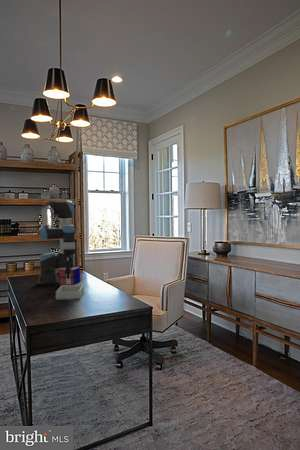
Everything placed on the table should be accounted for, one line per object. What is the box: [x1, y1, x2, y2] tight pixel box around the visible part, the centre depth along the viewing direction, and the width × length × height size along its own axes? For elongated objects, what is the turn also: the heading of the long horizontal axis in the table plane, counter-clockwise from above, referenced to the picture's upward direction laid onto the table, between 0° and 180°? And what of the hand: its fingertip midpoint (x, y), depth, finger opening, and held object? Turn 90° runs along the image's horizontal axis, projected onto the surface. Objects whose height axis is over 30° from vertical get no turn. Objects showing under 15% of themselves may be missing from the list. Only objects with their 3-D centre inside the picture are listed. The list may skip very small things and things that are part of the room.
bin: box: [55, 284, 85, 301], centre depth 218 cm, size 19×15×5 cm
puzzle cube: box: [58, 266, 81, 286], centre depth 218 cm, size 10×10×10 cm
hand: (70, 281), depth 218 cm, fingers closed on puzzle cube, 11 cm apart
